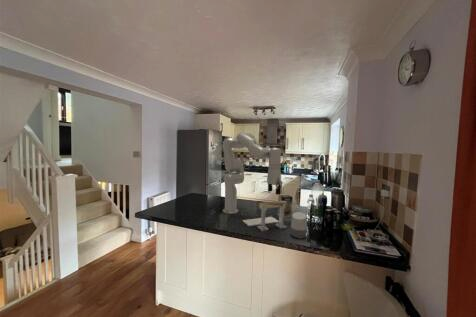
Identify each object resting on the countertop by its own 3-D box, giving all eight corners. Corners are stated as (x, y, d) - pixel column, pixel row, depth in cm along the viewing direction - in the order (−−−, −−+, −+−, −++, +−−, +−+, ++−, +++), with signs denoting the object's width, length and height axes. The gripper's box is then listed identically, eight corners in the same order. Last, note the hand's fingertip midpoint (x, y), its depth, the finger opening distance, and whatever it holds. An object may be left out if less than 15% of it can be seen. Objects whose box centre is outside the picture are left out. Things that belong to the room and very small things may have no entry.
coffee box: (281, 218, 156) (282, 197, 155) (277, 215, 163) (278, 195, 162) (292, 217, 159) (292, 196, 158) (287, 214, 165) (288, 194, 164)
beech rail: (258, 207, 135) (258, 203, 135) (284, 205, 142) (284, 200, 142) (260, 208, 132) (260, 204, 132) (286, 206, 140) (287, 201, 139)
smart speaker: (288, 237, 124) (289, 214, 123) (293, 232, 132) (294, 210, 131) (304, 241, 119) (305, 217, 118) (308, 235, 127) (309, 213, 126)
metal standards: (257, 227, 137) (258, 203, 136) (281, 224, 144) (282, 201, 143) (261, 231, 132) (262, 206, 131) (286, 227, 139) (287, 203, 138)
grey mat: (242, 221, 148) (242, 220, 148) (271, 217, 157) (271, 216, 157) (248, 226, 139) (248, 225, 139) (279, 222, 148) (279, 221, 148)
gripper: (263, 165, 142) (262, 190, 143) (277, 168, 126) (276, 196, 127) (272, 165, 145) (272, 189, 146) (287, 168, 129) (286, 195, 130)
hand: (274, 192), depth 136 cm, fingers open, 9 cm apart
